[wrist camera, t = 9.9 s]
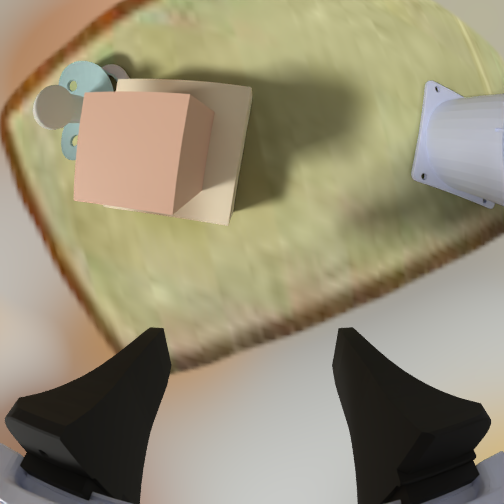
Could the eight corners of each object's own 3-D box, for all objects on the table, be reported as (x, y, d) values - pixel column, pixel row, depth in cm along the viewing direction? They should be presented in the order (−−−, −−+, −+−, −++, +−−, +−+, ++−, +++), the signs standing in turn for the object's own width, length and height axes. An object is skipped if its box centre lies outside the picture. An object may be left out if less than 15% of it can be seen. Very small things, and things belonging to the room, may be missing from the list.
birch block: (252, 97, 18) (251, 87, 14) (233, 212, 20) (228, 225, 17) (139, 87, 17) (118, 79, 14) (125, 196, 20) (103, 206, 17)
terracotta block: (214, 111, 15) (190, 94, 9) (201, 190, 16) (172, 215, 11) (139, 106, 15) (84, 92, 9) (129, 180, 16) (73, 200, 11)
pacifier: (135, 54, 17) (69, 75, 17) (98, 28, 11) (20, 63, 11) (140, 147, 19) (73, 162, 19) (100, 150, 13) (23, 172, 13)
